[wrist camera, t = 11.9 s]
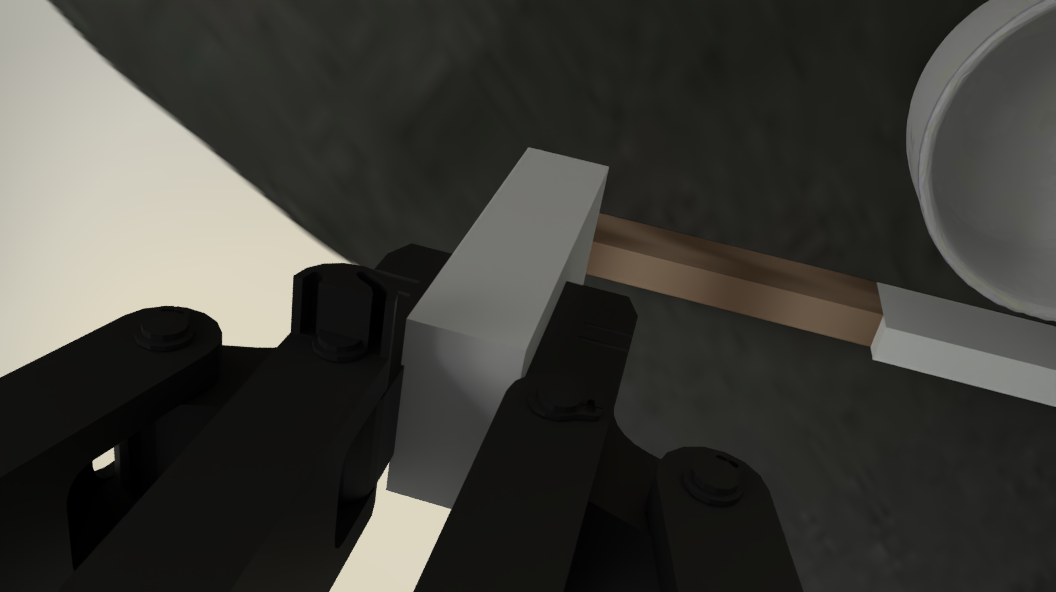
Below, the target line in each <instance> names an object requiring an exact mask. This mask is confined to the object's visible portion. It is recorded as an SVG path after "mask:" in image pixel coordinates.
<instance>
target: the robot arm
mask: <svg viewBox="0 0 1056 592" xmlns="http://www.w3.org/2000/svg"><path fill="white" fill-rule="evenodd" d="M608 170H609V167H608V166H604V165H600V164H596V163H591V162H587V161H583V160H579V159H575V158H571V157H567V156H562V155H558V154H554V153H550V152H546V151H542V150H537V149H533V148H529V147H528V149H527V150H526V152H525V153H524V154H523V156H522V157H521V159H520V160H519V161H518V163H517V164H516V166H515V167H514V168H513V170H512V171H511V173H510V174H509V175H508V177H507V178H506V180H505V181H504V183H503V184H502V185H501V187H500V188H499V190H498V191H497V192H496V194H495V195H494V197H493V198H492V199H491V201H490V202H489V204H488V205H487V206H486V208H485V209H484V211H483V212H482V213H481V215H480V216H479V218H478V219H477V220H476V222H475V223H474V225H473V226H472V227H471V229H470V230H469V232H468V233H467V234H466V236H465V237H464V239H463V240H462V241H461V243H460V244H459V246H458V247H457V249H456V250H455V251H454V253H453V254H450V253H446V252H443V251H439V250H435V249H431V248H427V247H423V246H419V245H415V244H412V243H411V244H409V245H407V246H404V247H402V248H400V249H398V250H395V251H393V252H391V253H388V254H387V255H386V256H385V257H384V259H383V260H382V261H381V262H380V263H379V264H378V266H377V267H376V268H375V269H374V270H372V269H370V268H367V267H365V266H359V265H353V264H346V263H334V264H333V263H332V264H321V265H317V266H313V267H309V268H306V269H304V270H302V271H301V272H299V273H297V274H296V275H294V278H293V298H292V299H293V300H292V319H291V320H292V321H291V333H290V334H289V335H288V336H287V337H286V338H285V339H284V341H282V343H281V344H280V345H279V346H278V347H275V348H254V347H240V346H225V345H222V332H221V329H220V327H219V325H218V323H217V322H216V321H215V320H214V319H212V318H211V317H209V316H208V315H206V314H205V313H202V312H199V311H195V310H192V309H189V308H184V307H174V306H161V307H154V308H145V309H141V310H139V311H136V312H133V313H130V314H127V315H124V316H122V317H120V318H118V319H117V320H115V321H112V322H110V323H109V324H106V325H105V326H102V327H101V328H99V329H97V330H95V331H93V332H91V333H89V334H87V335H85V336H83V337H81V338H79V339H77V340H75V341H73V342H71V343H69V344H67V345H65V346H63V347H61V348H59V349H57V350H55V351H53V352H51V353H49V354H47V355H45V356H43V357H41V358H39V359H37V360H35V361H33V362H31V363H29V364H27V365H25V366H23V367H21V368H19V369H17V370H15V371H13V372H11V373H9V374H7V375H5V376H3V377H1V378H0V592H329V591H330V589H331V587H332V586H333V584H334V582H335V580H336V578H337V577H338V575H339V573H340V571H341V569H342V568H343V566H344V564H345V562H346V561H347V559H348V557H349V555H350V553H351V552H352V550H353V548H354V546H355V544H356V543H357V541H358V539H359V537H360V535H361V534H362V532H363V530H364V528H365V527H366V525H367V523H368V521H369V519H370V517H371V516H372V512H373V508H374V504H375V497H376V488H377V482H378V480H379V479H380V477H381V475H382V473H383V472H384V470H385V468H386V467H387V465H388V463H389V461H390V463H389V472H388V480H387V488H386V490H388V491H391V492H395V493H398V494H402V495H405V496H409V497H412V498H415V499H419V500H422V501H426V502H429V503H433V504H436V505H440V506H443V507H446V508H450V509H451V511H450V514H449V516H448V518H447V520H446V522H445V524H444V527H443V529H442V531H441V533H440V535H439V538H438V540H437V542H436V544H435V546H434V548H433V550H432V553H431V555H430V557H429V560H428V561H427V563H426V566H425V568H424V570H423V572H422V574H421V576H420V579H419V581H418V583H417V585H416V587H415V590H414V592H803V589H802V586H801V583H800V580H799V577H798V574H797V572H796V569H795V566H794V563H793V560H792V557H791V554H790V551H789V548H788V545H787V542H786V539H785V536H784V533H783V530H782V527H781V524H780V521H779V518H778V515H777V512H776V509H775V506H774V503H773V500H772V498H771V495H770V492H769V490H768V488H767V486H766V485H765V483H764V481H763V480H762V478H761V476H760V475H759V474H758V473H757V472H755V471H754V470H753V469H752V468H751V467H750V466H748V465H747V464H746V463H745V462H743V461H741V460H739V459H737V458H735V457H733V456H731V455H729V454H727V453H725V452H722V451H718V450H714V449H710V448H706V447H682V448H679V449H676V450H673V451H670V452H667V453H666V455H665V456H664V457H663V458H662V459H659V458H657V457H655V456H653V455H651V454H649V453H648V452H646V451H645V450H643V449H641V448H640V447H638V446H637V445H635V444H634V443H633V442H632V441H631V440H630V439H628V438H627V437H626V436H625V435H624V434H623V432H622V431H621V429H620V428H619V427H618V425H617V423H616V420H615V417H614V406H615V402H616V399H617V395H618V391H619V387H620V383H621V379H622V376H623V372H624V368H625V364H626V360H627V356H628V352H629V349H630V345H631V341H632V337H633V333H634V329H635V325H636V321H637V318H638V315H637V313H636V311H635V309H634V307H633V305H632V303H631V300H630V298H629V297H627V296H623V295H619V294H615V293H611V292H608V291H604V290H600V289H596V288H592V287H588V286H584V285H583V283H584V278H585V274H586V269H587V265H588V260H589V256H590V251H591V247H592V242H593V238H594V233H595V229H596V224H597V220H598V215H599V211H600V206H601V202H602V197H603V192H604V188H605V183H606V179H607V174H608ZM113 447H114V454H115V461H113V462H112V463H110V464H109V465H107V466H106V467H104V468H102V469H99V470H97V471H94V469H93V464H92V461H93V460H94V459H96V458H97V457H99V456H100V455H102V454H104V453H105V452H107V451H108V450H110V449H111V448H113Z"/></svg>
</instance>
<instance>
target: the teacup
mask: <svg viewBox="0 0 1056 592" xmlns="http://www.w3.org/2000/svg"><path fill="white" fill-rule="evenodd" d="M906 146H907V157H908V163H909V168H910V173H911V177H912V181H913V184H914V187H915V190H916V193H917V196H918V198H919V201H920V205H921V210H922V214H923V217H924V220H925V223H926V226H927V228H928V231H929V233H930V235H931V238H932V240H933V242H934V243H935V245H936V247H937V249H938V250H939V251H940V253H941V254H942V256H943V258H944V260H945V261H946V262H947V263H948V264H949V265H950V266H951V267H952V269H953V270H954V271H955V272H956V273H957V274H958V275H959V276H960V277H961V278H962V279H963V280H964V281H965V282H966V283H967V284H968V285H969V286H971V287H973V288H975V289H976V290H977V291H978V292H979V293H980V294H982V295H984V296H985V297H987V298H988V299H990V300H992V301H993V302H995V303H996V304H998V305H1001V306H1005V307H1007V308H1008V309H1010V310H1012V311H1014V312H1023V313H1025V314H1027V315H1029V316H1034V317H1037V318H1040V319H1043V320H1053V321H1056V0H989V1H988V2H986V3H984V4H983V5H981V6H980V7H979V8H977V9H976V10H975V11H973V12H972V13H971V14H970V15H969V16H967V17H966V18H965V19H964V20H963V21H962V22H961V23H959V24H958V25H957V26H956V27H955V28H954V29H953V30H952V31H951V32H950V33H949V35H948V36H947V37H946V38H945V39H944V40H943V42H942V43H941V44H940V46H939V47H938V48H937V49H936V51H935V52H934V54H933V55H932V57H931V58H930V60H929V62H928V63H927V65H926V67H925V69H924V70H923V72H922V74H921V76H920V78H919V81H918V83H917V86H916V88H915V91H914V94H913V97H912V100H911V105H910V110H909V115H908V120H907V131H906Z"/></svg>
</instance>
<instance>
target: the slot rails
mask: <svg viewBox="0 0 1056 592" xmlns="http://www.w3.org/2000/svg"><path fill="white" fill-rule="evenodd" d="M586 274H589V275H593V276H597V277H601V278H605V279H609V280H613V281H617V282H620V283H624V284H628V285H632V286H636V287H640V288H644V289H648V290H652V291H655V292H659V293H663V294H667V295H671V296H675V297H679V298H683V299H687V300H690V301H694V302H698V303H702V304H706V305H710V306H714V307H718V308H721V309H725V310H729V311H733V312H737V313H741V314H745V315H749V316H753V317H756V318H760V319H764V320H768V321H772V322H776V323H780V324H784V325H788V326H791V327H795V328H799V329H803V330H807V331H811V332H815V333H819V334H823V335H826V336H830V337H834V338H838V339H842V340H846V341H850V342H854V343H857V344H861V345H865V346H869V347H871V345H872V342H873V340H874V337H875V335H876V332H877V330H878V327H879V325H880V323H881V320H882V318H883V310H882V305H881V301H880V296H879V291H878V286H877V282H875V281H871V280H867V279H863V278H859V277H855V276H851V275H847V274H843V273H839V272H835V271H831V270H827V269H823V268H819V267H815V266H811V265H806V264H802V263H798V262H794V261H790V260H786V259H782V258H778V257H774V256H770V255H766V254H762V253H758V252H754V251H750V250H746V249H742V248H738V247H734V246H730V245H726V244H722V243H718V242H714V241H710V240H706V239H702V238H698V237H694V236H690V235H686V234H682V233H678V232H674V231H670V230H666V229H662V228H658V227H654V226H650V225H646V224H642V223H638V222H634V221H630V220H626V219H622V218H618V217H614V216H610V215H606V214H602V213H599V216H598V220H597V224H596V229H595V233H594V238H593V242H592V247H591V251H590V256H589V260H588V265H587V269H586Z"/></svg>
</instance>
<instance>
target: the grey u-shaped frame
mask: <svg viewBox="0 0 1056 592" xmlns="http://www.w3.org/2000/svg"><path fill="white" fill-rule="evenodd" d="M877 286H878V291H879V296H880V301H881V305H882V310H883V318H882V320H881V323H880V325H879V327H878V330H877V332H876V335H875V337H874V340H873V342H872V345H871V352H872V358H873V360H877V361H881V362H885V363H888V364H892V365H896V366H900V367H904V368H908V369H912V370H915V371H919V372H923V373H927V374H931V375H935V376H939V377H942V378H946V379H950V380H954V381H958V382H962V383H966V384H969V385H973V386H977V387H981V388H985V389H989V390H993V391H997V392H1000V393H1004V394H1008V395H1012V396H1016V397H1020V398H1024V399H1027V400H1031V401H1035V402H1039V403H1043V404H1047V405H1051V406H1054V407H1056V326H1052V325H1048V324H1044V323H1040V322H1035V321H1031V320H1027V319H1023V318H1019V317H1015V316H1011V315H1007V314H1003V313H999V312H995V311H991V310H987V309H983V308H979V307H975V306H971V305H967V304H963V303H959V302H955V301H951V300H947V299H943V298H939V297H935V296H931V295H927V294H923V293H919V292H915V291H911V290H907V289H903V288H899V287H895V286H891V285H887V284H883V283H879V282H877Z"/></svg>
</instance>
